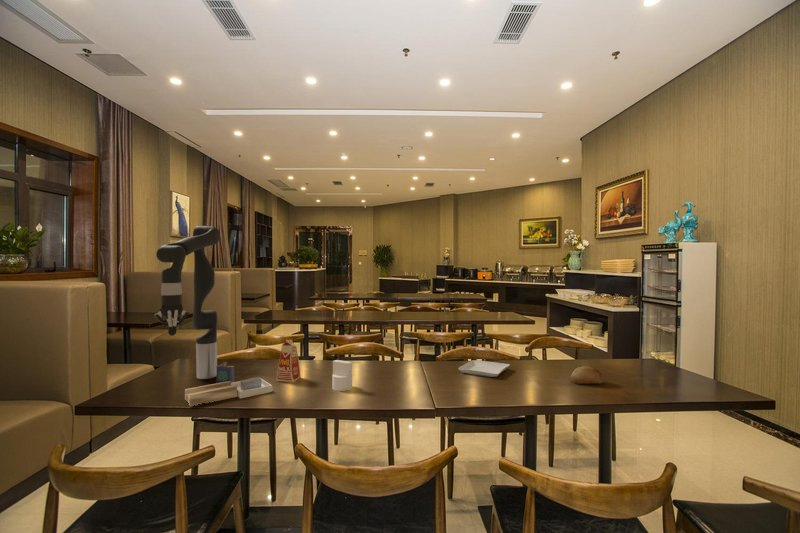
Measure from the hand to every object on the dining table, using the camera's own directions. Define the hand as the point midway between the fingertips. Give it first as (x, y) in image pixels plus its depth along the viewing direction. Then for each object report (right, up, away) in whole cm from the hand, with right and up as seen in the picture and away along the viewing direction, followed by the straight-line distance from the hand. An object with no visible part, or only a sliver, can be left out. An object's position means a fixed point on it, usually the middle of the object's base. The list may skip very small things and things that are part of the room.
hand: (172, 335), depth 168 cm
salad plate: (+139, -27, +42) cm, 147 cm away
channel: (+15, -27, +2) cm, 31 cm away
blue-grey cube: (+28, -24, +13) cm, 39 cm away
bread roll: (+183, -27, +22) cm, 186 cm away
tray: (+28, -27, +13) cm, 41 cm away
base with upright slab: (+68, -27, +16) cm, 75 cm away
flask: (+13, -27, +21) cm, 37 cm away
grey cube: (+27, -26, +11) cm, 39 cm away
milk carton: (+40, -27, +30) cm, 57 cm away
